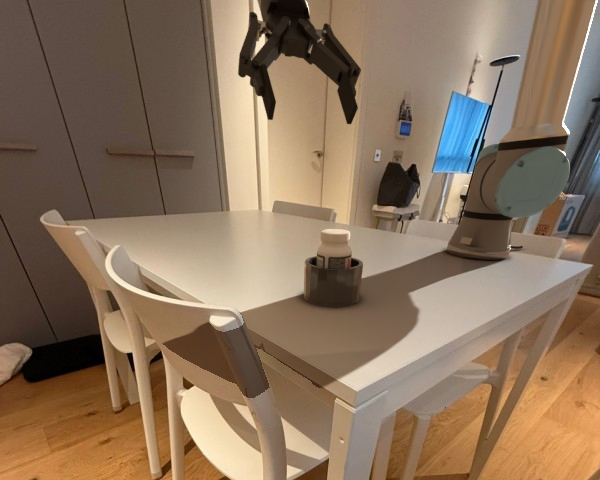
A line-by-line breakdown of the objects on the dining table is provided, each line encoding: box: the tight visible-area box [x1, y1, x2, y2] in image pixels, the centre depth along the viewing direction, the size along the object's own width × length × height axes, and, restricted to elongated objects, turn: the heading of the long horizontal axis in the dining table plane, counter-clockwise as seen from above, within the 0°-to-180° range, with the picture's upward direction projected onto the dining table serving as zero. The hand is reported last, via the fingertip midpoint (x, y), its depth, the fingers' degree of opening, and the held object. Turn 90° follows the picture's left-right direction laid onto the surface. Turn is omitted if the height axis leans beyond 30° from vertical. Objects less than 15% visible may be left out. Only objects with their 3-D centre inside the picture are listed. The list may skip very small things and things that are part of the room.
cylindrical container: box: [303, 255, 364, 308], centre depth 57 cm, size 10×10×6 cm
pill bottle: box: [316, 228, 353, 269], centre depth 56 cm, size 6×6×10 cm
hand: (313, 113), depth 52 cm, fingers open, 13 cm apart
